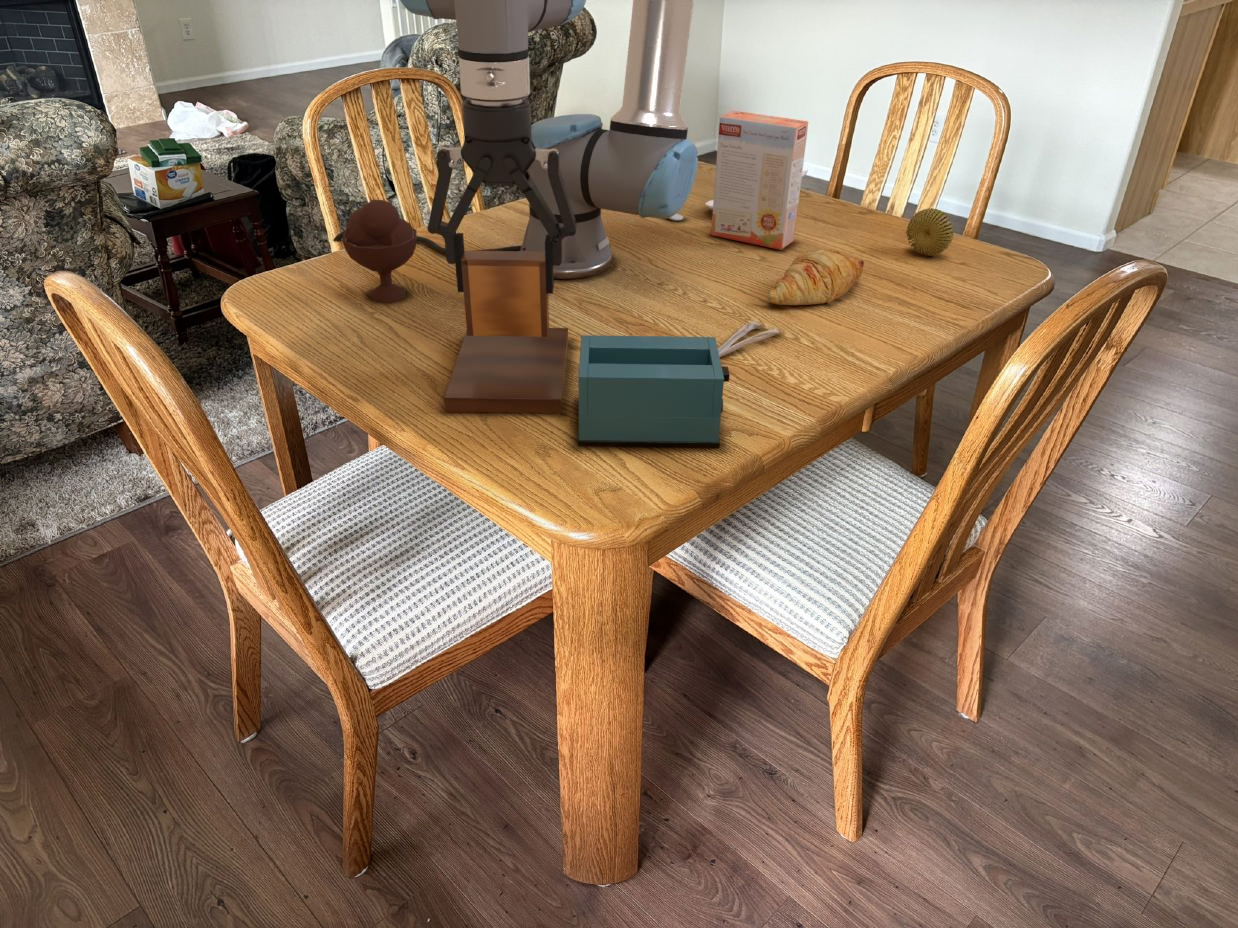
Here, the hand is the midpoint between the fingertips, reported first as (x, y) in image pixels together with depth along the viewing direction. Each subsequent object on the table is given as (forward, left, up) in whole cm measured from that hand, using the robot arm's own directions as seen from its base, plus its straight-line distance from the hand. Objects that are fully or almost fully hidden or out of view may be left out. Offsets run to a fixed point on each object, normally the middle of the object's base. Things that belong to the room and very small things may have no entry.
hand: (506, 288), depth 111 cm
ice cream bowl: (-32, +9, -12) cm, 35 cm away
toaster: (+21, 0, -12) cm, 24 cm away
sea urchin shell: (+30, +76, -12) cm, 83 cm away
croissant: (+21, +49, -12) cm, 55 cm away
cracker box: (+2, +65, -12) cm, 66 cm away
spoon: (-8, +86, -12) cm, 87 cm away
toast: (0, 0, -6) cm, 6 cm away
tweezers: (+20, +23, -12) cm, 33 cm away
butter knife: (-25, +68, -12) cm, 73 cm away
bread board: (-1, +2, -12) cm, 12 cm away
